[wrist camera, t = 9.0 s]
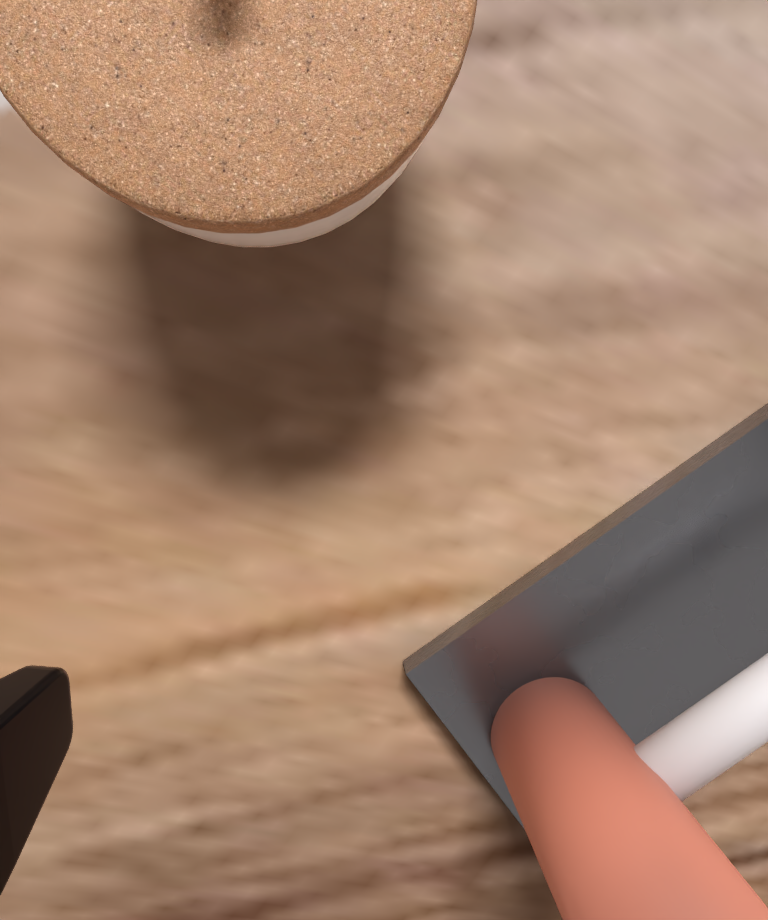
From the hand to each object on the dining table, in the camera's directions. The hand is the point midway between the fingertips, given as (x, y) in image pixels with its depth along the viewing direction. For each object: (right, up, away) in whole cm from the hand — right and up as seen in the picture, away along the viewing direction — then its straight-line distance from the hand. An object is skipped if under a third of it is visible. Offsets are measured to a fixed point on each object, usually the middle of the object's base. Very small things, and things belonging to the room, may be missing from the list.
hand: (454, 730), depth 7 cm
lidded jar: (-5, +15, +13) cm, 20 cm away
